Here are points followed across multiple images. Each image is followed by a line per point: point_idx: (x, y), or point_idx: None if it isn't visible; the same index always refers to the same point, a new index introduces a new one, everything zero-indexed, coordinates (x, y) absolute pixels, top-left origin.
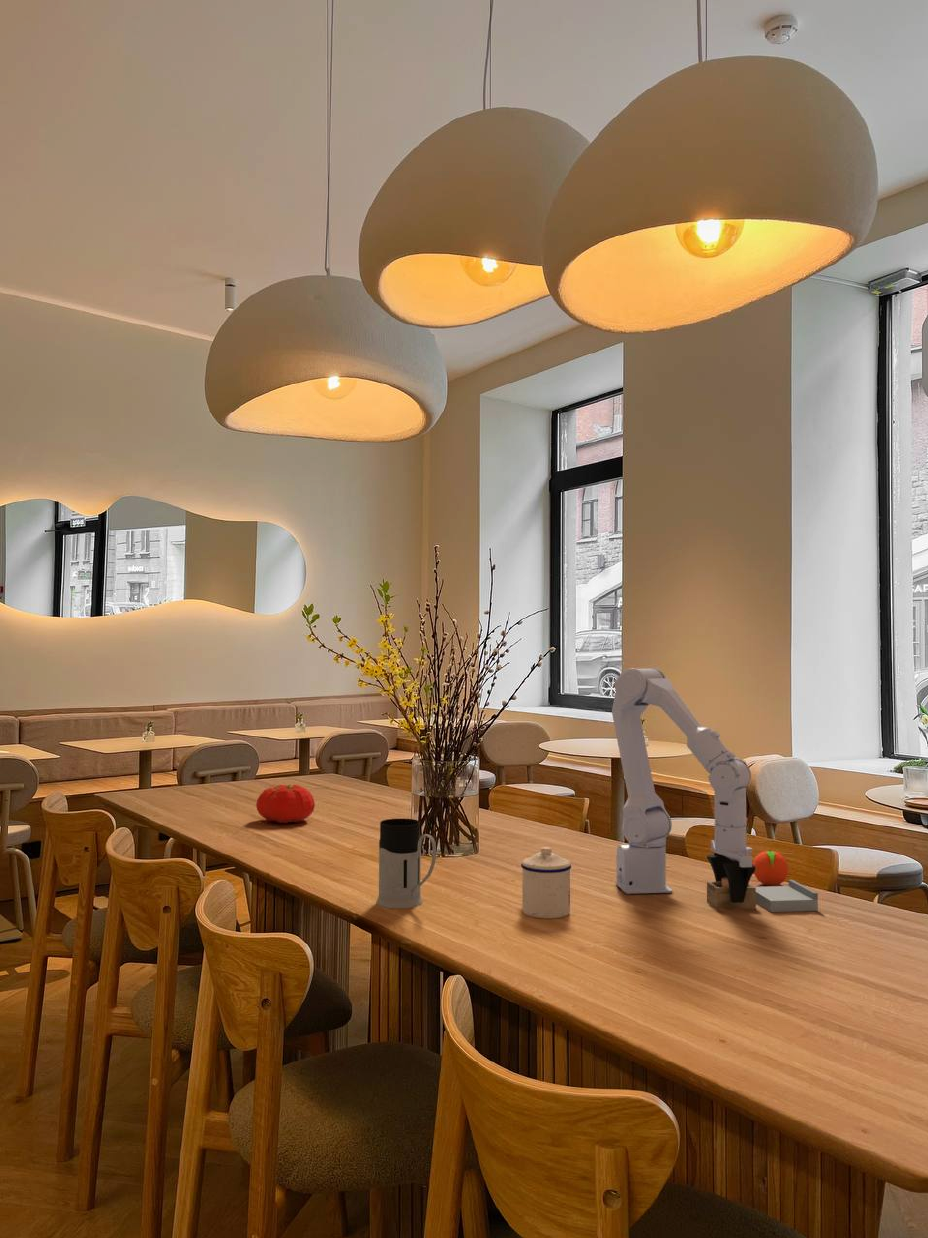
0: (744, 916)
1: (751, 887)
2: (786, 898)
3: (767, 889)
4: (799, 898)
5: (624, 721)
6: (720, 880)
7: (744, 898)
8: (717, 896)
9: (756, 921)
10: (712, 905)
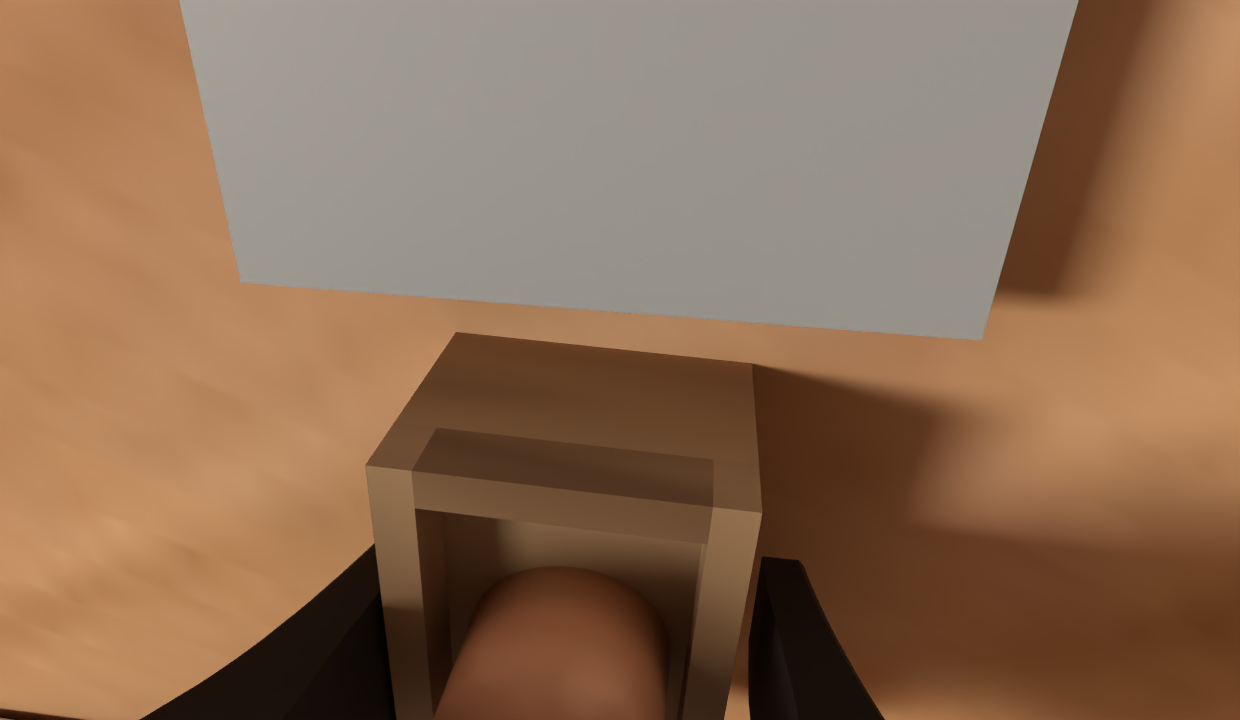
0: (990, 587)
1: (744, 556)
2: (941, 31)
3: (366, 67)
4: None
5: None
6: (383, 716)
7: (808, 583)
8: None
9: (1186, 571)
10: None
